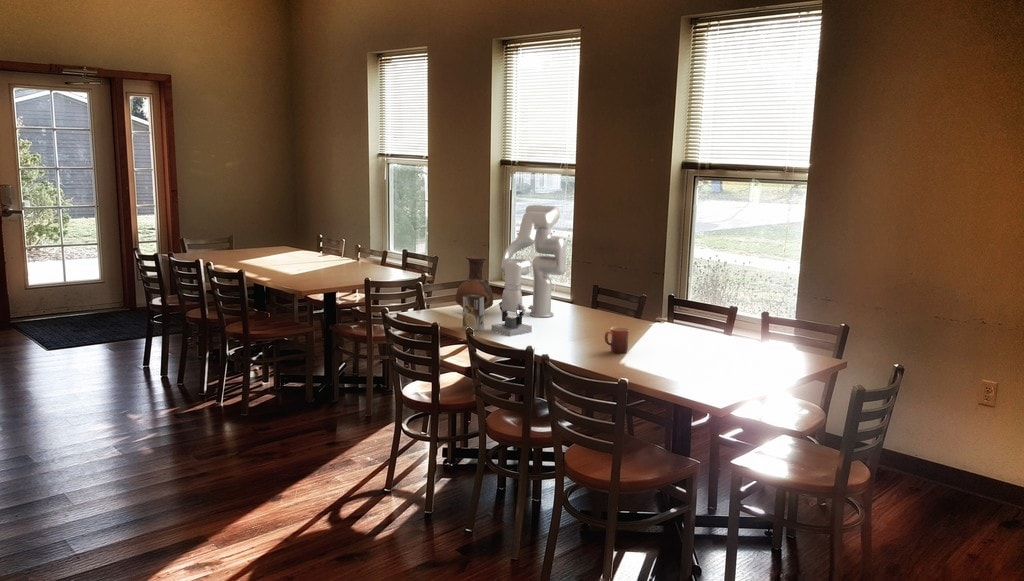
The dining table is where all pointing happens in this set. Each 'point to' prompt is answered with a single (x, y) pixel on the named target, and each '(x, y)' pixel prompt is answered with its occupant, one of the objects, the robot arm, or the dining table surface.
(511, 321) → the plug
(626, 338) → the mug
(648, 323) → the dining table surface
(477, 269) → the vase
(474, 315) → the coffee box
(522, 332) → the socket plate
